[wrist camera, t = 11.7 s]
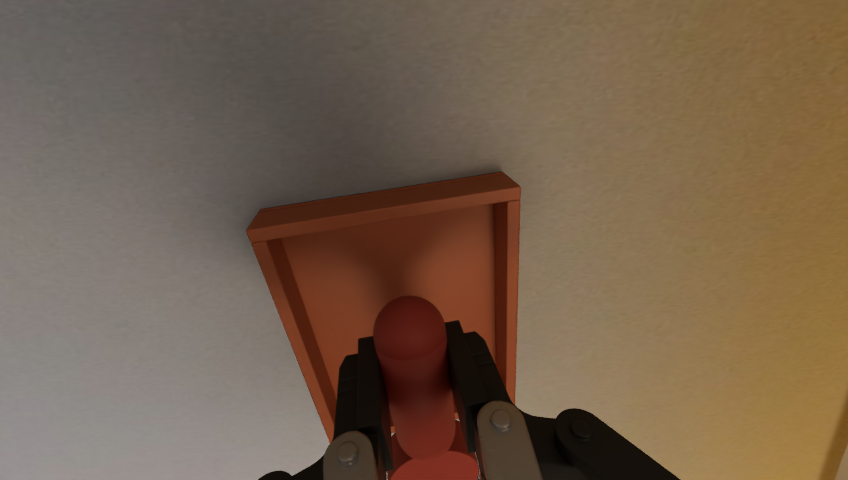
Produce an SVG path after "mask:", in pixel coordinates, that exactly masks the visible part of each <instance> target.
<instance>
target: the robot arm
mask: <svg viewBox="0 0 848 480" xmlns="http://www.w3.org/2000/svg"><path fill="white" fill-rule="evenodd" d="M444 323H445V327H446V336H447V352H448V362H449V372H450V381H451V390H452V394H453V398H454V401H455V405H456V409H457V413H458V417H459V420H460V424H461V428H462V432H463V436H464V440H465V443H466V447H467V451H468V453H473V452H476V455H477V459H478V462H479V466H480V478H481V480H680V479H679V478H677V477H676V476H675V475H673V474H672V473H671V472H669V471H668V470H667V469H665V468H664V467H663V466H661V465H660V464H659V463H657V462H656V461H655V460H653V459H652V458H651V457H649V456H648V455H647V454H645V453H644V452H643V451H641V450H640V449H639V448H637V447H636V446H635V445H633V444H632V443H631V442H629V441H628V440H627V439H625V438H624V437H623V436H621V435H620V434H619V433H617V432H616V431H615V430H613V429H612V428H611V427H609V426H608V425H607V424H605V423H604V422H603V421H601V420H600V419H599V418H597V417H596V416H594V415H593V414H591V413H589V412H587V411H585V410H581V409H574V408H573V409H567V410H564V411H562V412H561V413H560V414H559V415H558V416H557V418H556V419H553V418H544V417H536V416H532V415H529V414H527V413H524V412H523V411H521V410H520V409H518V408H517V407H516V406H515V405H514V404H513V402H512V401H511V399H510V397H509V395H508V393H507V390H506V388H505V386H504V383H503V381H502V379H501V376H500V374H499V372H498V369H497V367H496V365H495V363H494V360H493V358H492V355H491V353H490V351H489V348H488V346H487V344H486V341H485V340H484V339H483V338H482V337H481V336H480V335H479V334H478V333H477V332H476V331H473V332H467V333H464V332H463V329H462V326H461V324H460V321H459V320H455V321H449V322H444ZM390 470H394V467H393V453H392V439H391V425H390V411H389V400H388V396H387V392H386V388H385V384H384V379H383V375H382V371H381V367H380V362H379V358H378V356H377V353H376V349H375V344H374V338H373V336H369V337H364V338H359V339H358V353H357V354H352V355H347V356H345V358H344V360H343V362H342V364H341V366H340V367H339V376H338V388H337V400H336V412H335V424H334V435H333V440H332V442H331V443H330V445H329V446H328V448H327V450H326V452H325V454H324V455H323V456H322V457H321V458H320V459H319V460H318V461H317V462H316V463H314V464H313V465H311V466H309V467H308V468H306V469H304V470H302V471H301V472H299V473H297V474H295V475H293V476H291V475H290V474H289V473H287V472H284V471H274V472H270V473H268V474H266V475H264V476H262V477H261V478H259V479H258V480H386V471H390Z"/></svg>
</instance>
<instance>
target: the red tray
mask: <svg viewBox="0 0 848 480" xmlns="http://www.w3.org/2000/svg"><path fill="white" fill-rule="evenodd" d="M520 196H521V187H520V186H519V185H518V184H517V183H516V182H514V181H513V180H512V179H511V178H509V177H508V176H507V175H505V173H504V172H498V173H491V174H485V175H478V176H472V177H465V178H459V179H453V180H446V181H440V182H433V183H427V184H420V185H414V186H407V187H401V188H394V189H388V190H382V191H375V192H369V193H362V194H356V195H349V196H343V197H336V198H330V199H323V200H317V201H311V202H304V203H298V204H291V205H285V206H278V207H272V208H265V209H260V211H259V212H258V214H257V215H256V217H255V218H254V219H253V221H252V222H251V224H250V225H249V227H248V228H247V230H246V232H247V235H248V237H249V240H250V242H251V243H252V247H253V250H254V252H255V255H256V257H257V260H258V262H259V265H260V267H261V270H262V272H263V275H264V277H265V280H266V282H267V285H268V287H269V290H270V293H271V295H272V298H273V300H274V303H275V305H276V308H277V310H278V313H279V315H280V318H281V320H282V323H283V325H284V328H285V330H286V333H287V335H288V338H289V341H290V343H291V346H292V348H293V351H294V353H295V356H296V358H297V361H298V363H299V366H300V368H301V371H302V373H303V376H304V378H305V381H306V383H307V386H308V389H309V391H310V394H311V396H312V399H313V401H314V404H315V406H316V409H317V411H318V414H319V416H320V419H321V421H322V424H323V426H324V429H325V431H326V434H327V437H328V439H329V442H330V443H331V442H332V440H333V435H334V424H335V412H336V400H337V388H338V376H339V367H340V366H341V364H342V362H343V360H344V358H345V356H347V355H352V354H357V353H358V339H359V338H364V337H369V336H373V329H374V323H375V320H376V318H377V316H378V314H379V312H380V311H381V309H382V308H383V307H384V306H385V305H386V304H387V303H389V302H390V301H392V300H394V299H396V298H398V297H401V296H407V295H409V296H419V297H422V298H424V299H426V300H428V301H430V302H431V303H432V304H433V305H434V306H435V307H436V308H437V309H438V310H439V311H440V313H441V315H442V317H443V319H444V322H449V321H455V320H459V321H460V324H461V326H462V329H463V332H464V333H467V332H473V331H476V332H477V333H478V334H479V335H480V336H481V337H482V338H483V339H484V340H485V341H486V344H487V346H488V348H489V351H490V353H491V355H492V358H493V360H494V363H495V365H496V367H497V369H498V372H499V374H500V376H501V379H502V381H503V383H504V386H505V388H506V390H507V393H508V395H509V397H510V399H511V401H512V402H513V404H514V405H515V383H516V345H517V307H518V269H519V231H520ZM452 395H453V394H452ZM453 404H454V414H455V419H459V417H458V413H457V409H456V405H455V401H454V398H453ZM389 411H390V407H389ZM390 425H391V433H394V432H395V428H394V424H393V420H392V416H391V412H390Z"/></svg>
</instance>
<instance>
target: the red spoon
mask: <svg viewBox="0 0 848 480" xmlns="http://www.w3.org/2000/svg"><path fill="white" fill-rule="evenodd" d="M373 338H374V344H375V349H376V353H377V356H378V358H379V362H380V367H381V371H382V375H383V379H384V384H385V388H386V392H387V396H388V400H389V407H390V412H391V416H392V420H393V424H394V428H395V433H394V435H393V436H392V437H391V439H392V453H393V467H394V470H390V471H387V474H388V480H476V479H477V477H478V474H479V466H478V462H477V459H476V455H475V452H473V453H468V451H467V447H466V443H465V440H464V436H463V432H462V428H461V424H460V422H459V421H457V420H455V414H454V404H453V395H452V390H451V381H450V372H449V362H448V352H447V336H446V327H445V323H444V319H443V317H442V315H441V313H440V311H439V310H438V309H437V308H436V307H435V306H434V305H433V304H432V303H431V302H430V301H428V300H426V299H424V298H422V297H419V296H409V295H407V296H401V297H398V298H396V299H394V300H392V301H390V302H389V303H387V304H386V305H385V306H384V307H383V308H382V309H381V311H380V312H379V314H378V316H377V318H376V320H375V323H374V329H373Z"/></svg>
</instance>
